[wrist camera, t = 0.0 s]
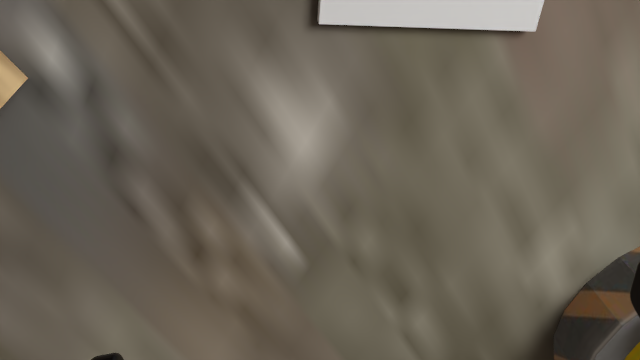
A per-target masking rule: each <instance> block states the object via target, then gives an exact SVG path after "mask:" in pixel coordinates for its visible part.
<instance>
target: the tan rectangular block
mask: <svg viewBox="0 0 640 360" xmlns="http://www.w3.org/2000/svg"><path fill="white" fill-rule="evenodd" d="M27 79H28V78H27V77H26V76H25V75H24V74H23V73H22V72H21V71H20V70H19V69H18V68H17V67H16V66H15V65H14V64H13V63H12V62H11V61H10V60H9V59H8V58H7V57H6V56H5V55H4V54H3V53H2V52H1V51H0V109H1V107H2V106H3V105H4V104H5V103H6V102H7V101H8V100H9V99H10V97H11V96H12V95H13V94H14V93H15V92H16V91H17V90H18V89H19V88H20V86H21V85H22V84H23V83H24V82H25V81H26V80H27Z"/></svg>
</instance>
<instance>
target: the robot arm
mask: <svg viewBox="0 0 640 360" xmlns="http://www.w3.org/2000/svg"><path fill="white" fill-rule="evenodd" d="M630 299H631V303H632V305H633V307H634V309H635V311H636V313H637V315H638V316H639V318H640V261H639V263H638V265H637V268H636V272H635V275H634V279H633V282H632V286H631V289H630ZM91 360H124V359H123V358H122V356H121V355H120V354H119V353H111V354H106V355H100V356H96V357H94V358H93V359H91Z"/></svg>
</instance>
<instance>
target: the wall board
mask: <svg viewBox="0 0 640 360" xmlns="http://www.w3.org/2000/svg"><path fill="white" fill-rule="evenodd" d="M543 3H544V0H319V2H318V17H317V21H318V23H319V24H330V25H359V26H388V27H418V28H447V29H477V30H506V31H536V28H537V24H538V21H539V17H540V13H541V10H542V6H543Z"/></svg>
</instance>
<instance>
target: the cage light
mask: <svg viewBox="0 0 640 360" xmlns="http://www.w3.org/2000/svg"><path fill="white" fill-rule="evenodd" d="M639 261H640V247H638V248H636V249H634V250H632V251H630V252H628V253H626V254H624V255H622V256H621V257H619V258H618V259H616V260H615V261H614V262H612V263H611V264H610V265H609V266H607V267H606V268H605V269H604V270H602V271H601V272H600V273H599V274H597V275H596V276H595V277H593V278H592V279H591V280H590V281H588V282H587V283H586V285H585V286H584V287H583V288H582V289H581V291H580V292H579V293H578V294H577V296H576V297H575V298H574V299H573V300H572V302H571V303H570V304H569V305H568V307H567V308H566V309H565V311H564V313H563V315H562V318H561V320H560V323H559V325H558V327H557V330H556V332H555V334H554V360H640V318H639V316H638V315H637V313H636V311H635V309H634V307H633V305H632V303H631V299H630V289H631V286H632V282H633V279H634V275H635V272H636V268H637V265H638V263H639Z"/></svg>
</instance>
